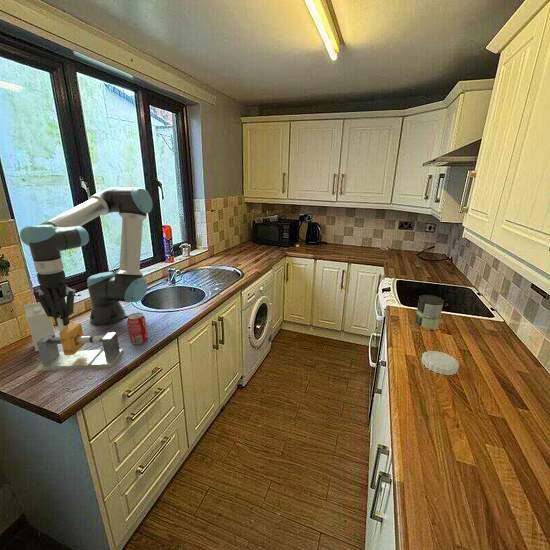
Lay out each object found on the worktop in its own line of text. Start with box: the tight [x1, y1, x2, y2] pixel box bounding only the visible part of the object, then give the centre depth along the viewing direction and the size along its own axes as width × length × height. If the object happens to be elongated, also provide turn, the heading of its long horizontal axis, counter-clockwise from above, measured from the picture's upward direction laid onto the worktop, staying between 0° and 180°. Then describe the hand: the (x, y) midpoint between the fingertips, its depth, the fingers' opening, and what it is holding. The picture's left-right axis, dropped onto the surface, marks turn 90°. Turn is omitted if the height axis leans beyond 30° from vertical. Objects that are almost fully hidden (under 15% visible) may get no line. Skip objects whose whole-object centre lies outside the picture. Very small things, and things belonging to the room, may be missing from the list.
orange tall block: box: [59, 322, 86, 355], centre depth 104 cm, size 3×8×9 cm, turn 6°
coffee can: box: [414, 294, 445, 329], centre depth 135 cm, size 10×10×14 cm
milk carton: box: [23, 301, 59, 352], centre depth 115 cm, size 7×7×19 cm
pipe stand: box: [37, 331, 124, 372], centre depth 106 cm, size 25×10×10 cm, turn 96°
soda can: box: [126, 312, 149, 345], centre depth 119 cm, size 7×7×12 cm
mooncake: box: [420, 350, 460, 376], centre depth 105 cm, size 12×12×4 cm
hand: (64, 333), depth 103 cm, fingers closed
